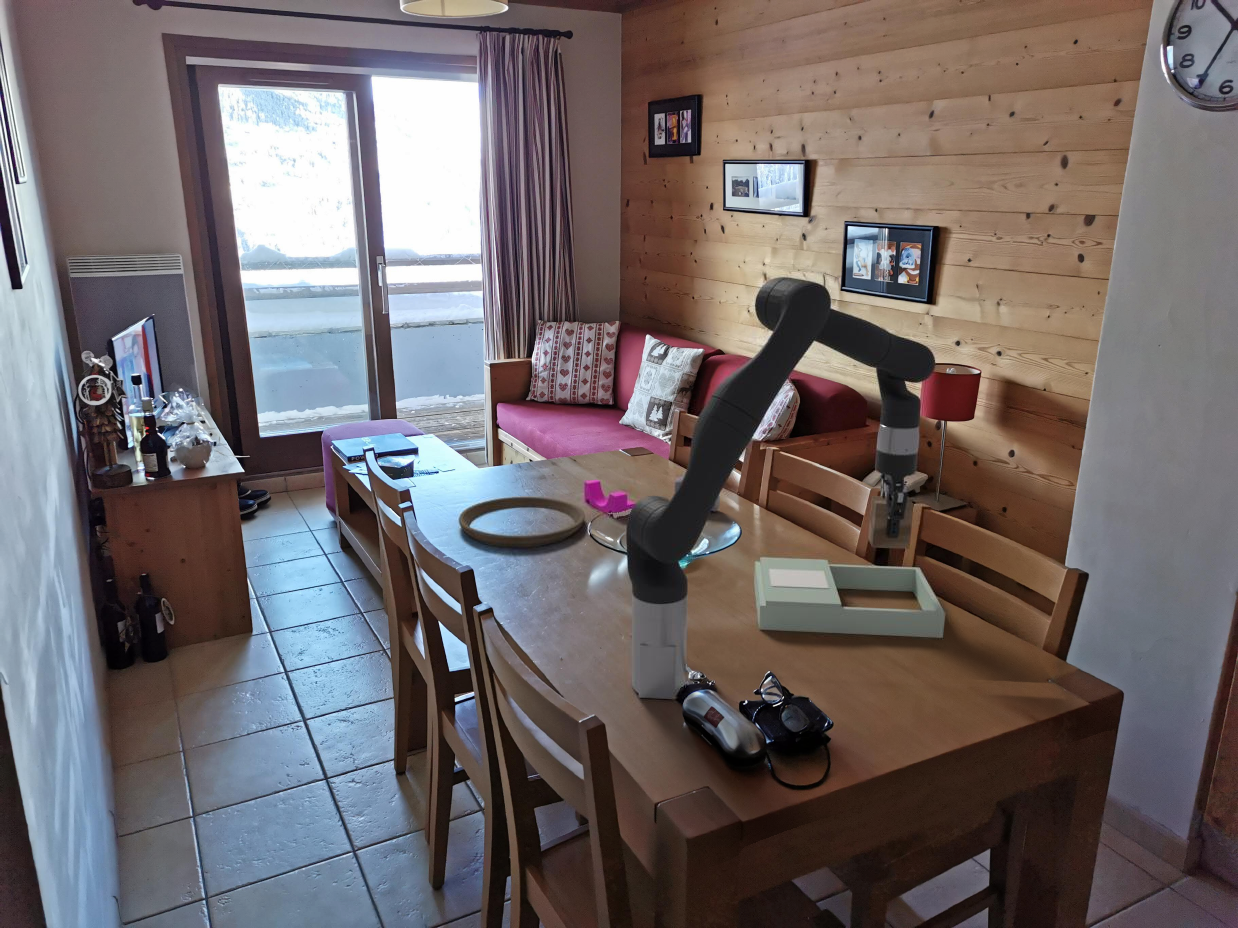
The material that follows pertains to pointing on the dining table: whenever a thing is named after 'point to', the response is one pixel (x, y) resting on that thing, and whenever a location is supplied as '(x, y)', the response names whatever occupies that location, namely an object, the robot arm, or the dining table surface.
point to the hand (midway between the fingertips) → (889, 532)
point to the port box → (812, 602)
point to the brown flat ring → (512, 502)
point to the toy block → (606, 505)
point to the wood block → (880, 525)
